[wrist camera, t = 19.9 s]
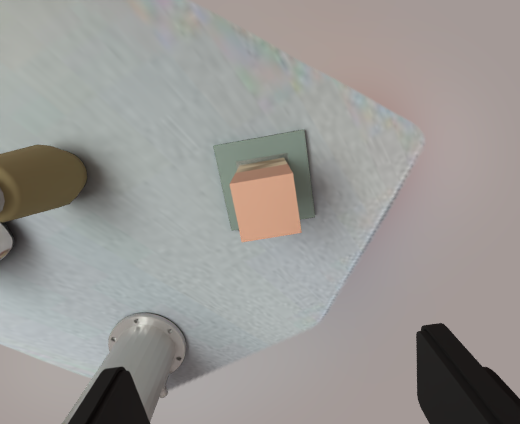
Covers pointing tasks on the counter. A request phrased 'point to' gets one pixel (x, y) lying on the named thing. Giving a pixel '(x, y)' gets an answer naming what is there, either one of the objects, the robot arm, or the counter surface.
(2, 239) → the spread jar
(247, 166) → the maple block
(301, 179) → the plate
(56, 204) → the squeeze bottle
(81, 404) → the robot arm
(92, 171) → the counter surface
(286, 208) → the terracotta block
